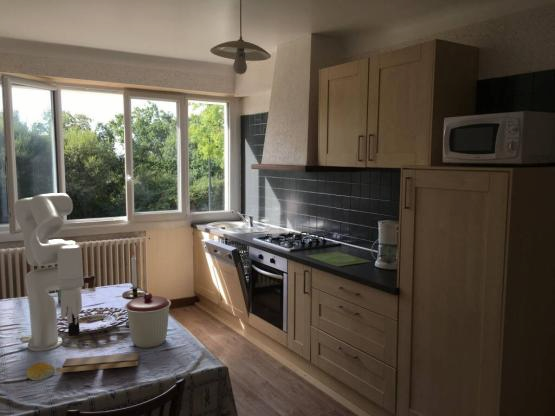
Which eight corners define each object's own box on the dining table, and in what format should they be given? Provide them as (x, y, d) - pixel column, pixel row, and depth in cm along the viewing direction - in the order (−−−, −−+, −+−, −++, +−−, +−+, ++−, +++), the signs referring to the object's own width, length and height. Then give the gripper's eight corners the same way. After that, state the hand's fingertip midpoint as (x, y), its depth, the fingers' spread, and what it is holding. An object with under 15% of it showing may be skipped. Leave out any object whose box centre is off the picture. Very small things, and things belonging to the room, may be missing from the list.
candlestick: (125, 330, 204) (121, 252, 200) (122, 321, 214) (119, 247, 209) (150, 326, 209) (147, 249, 204) (146, 318, 219) (143, 245, 214)
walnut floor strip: (62, 371, 167) (62, 366, 167) (66, 363, 173) (66, 358, 173) (138, 364, 173) (137, 359, 172) (139, 357, 178) (139, 352, 178)
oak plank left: (56, 372, 157) (56, 368, 157) (63, 372, 166) (63, 367, 167) (94, 369, 159) (94, 364, 160) (99, 368, 169) (99, 364, 169)
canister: (160, 354, 181) (159, 301, 178) (117, 350, 184) (115, 299, 182) (178, 335, 199) (177, 287, 196) (139, 332, 202) (137, 285, 199)
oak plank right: (98, 369, 160) (99, 364, 160) (103, 368, 169) (103, 364, 170) (135, 365, 162) (135, 361, 163) (137, 365, 172) (137, 361, 172)
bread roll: (43, 367, 171) (43, 357, 170) (58, 374, 166) (57, 363, 165) (21, 376, 164) (20, 366, 163) (35, 384, 159) (34, 372, 158)
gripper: (64, 276, 161) (67, 327, 164) (53, 289, 147) (56, 345, 149) (87, 275, 163) (90, 325, 165) (78, 288, 149) (81, 343, 151)
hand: (74, 334), depth 157 cm, fingers closed
